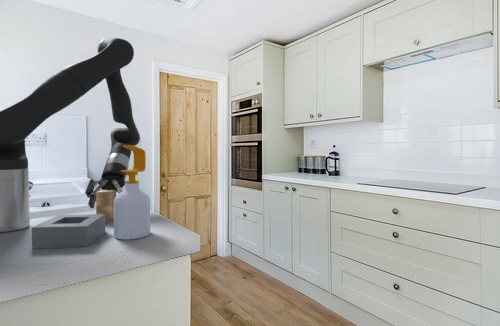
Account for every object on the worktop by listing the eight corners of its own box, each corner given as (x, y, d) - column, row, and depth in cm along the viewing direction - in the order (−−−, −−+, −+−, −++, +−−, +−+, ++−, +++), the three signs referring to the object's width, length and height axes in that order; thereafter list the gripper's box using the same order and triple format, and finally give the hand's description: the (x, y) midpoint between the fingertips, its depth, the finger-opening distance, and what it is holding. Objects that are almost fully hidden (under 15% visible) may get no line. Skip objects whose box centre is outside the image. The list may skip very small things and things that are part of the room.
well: (32, 248, 65) (31, 227, 65) (59, 232, 77) (58, 214, 76) (87, 246, 67) (87, 226, 66) (105, 231, 79) (105, 214, 78)
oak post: (96, 222, 88) (96, 192, 88) (101, 218, 93) (101, 189, 92) (111, 221, 89) (111, 191, 88) (116, 218, 93) (116, 189, 93)
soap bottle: (106, 237, 74) (105, 144, 72) (133, 228, 82) (133, 145, 81) (131, 242, 70) (130, 145, 69) (157, 232, 78) (156, 145, 77)
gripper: (91, 161, 96) (76, 200, 85) (135, 161, 98) (126, 200, 87) (97, 174, 102) (84, 213, 91) (138, 174, 104) (130, 212, 93)
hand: (105, 206), depth 89 cm, fingers open, 7 cm apart
